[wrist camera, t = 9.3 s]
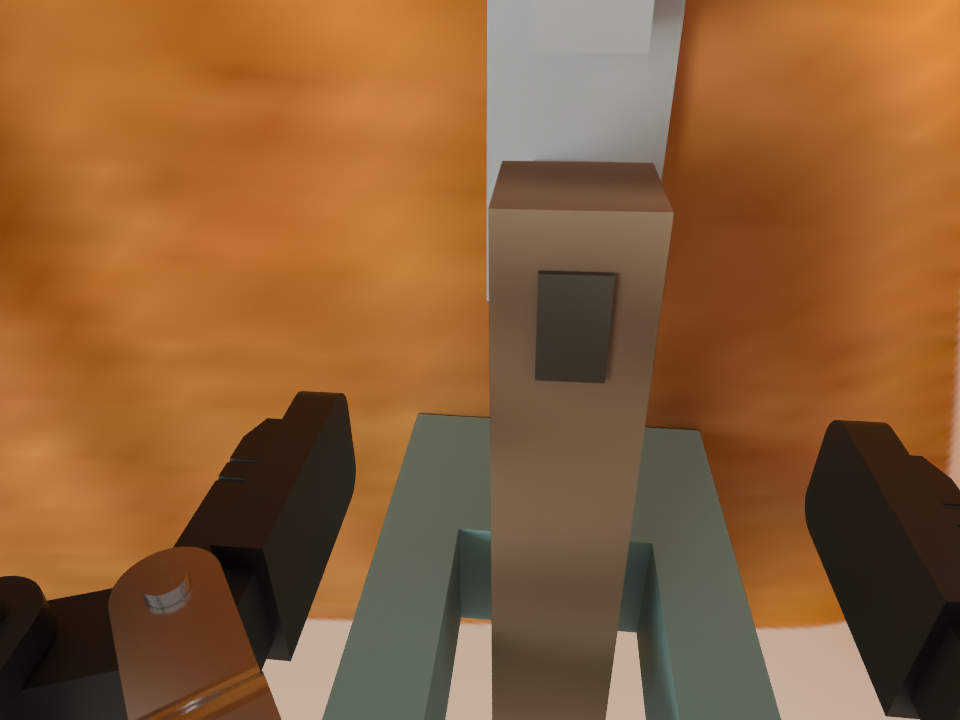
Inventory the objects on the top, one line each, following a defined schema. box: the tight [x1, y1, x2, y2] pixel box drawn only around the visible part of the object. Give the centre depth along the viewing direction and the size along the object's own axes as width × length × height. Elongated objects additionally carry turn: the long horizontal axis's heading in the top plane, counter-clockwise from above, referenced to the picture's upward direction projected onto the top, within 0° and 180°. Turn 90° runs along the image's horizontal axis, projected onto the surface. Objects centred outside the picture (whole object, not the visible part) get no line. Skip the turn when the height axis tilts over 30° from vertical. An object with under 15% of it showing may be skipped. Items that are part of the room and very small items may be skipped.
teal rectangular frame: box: [322, 414, 781, 720], centre depth 18 cm, size 4×9×13 cm, turn 89°
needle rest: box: [486, 0, 686, 301], centre depth 15 cm, size 11×4×5 cm, turn 0°
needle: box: [488, 161, 674, 720], centre depth 16 cm, size 19×3×3 cm, turn 0°
